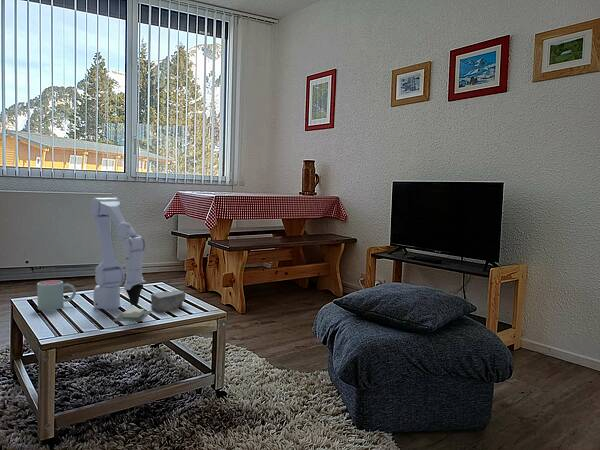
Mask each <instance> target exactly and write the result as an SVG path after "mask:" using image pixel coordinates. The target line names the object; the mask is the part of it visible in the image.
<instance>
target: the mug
mask: <svg viewBox="0 0 600 450" xmlns="http://www.w3.org/2000/svg"><path fill="white" fill-rule="evenodd" d="M66 287H69V288H70V289H71V290H72V295H71V296H69V297H68V298H64V288H66ZM36 289H37V290H36V292H37V294H36V295H37V296H36V297H37V310H39V311H46V312H47V311H48V312H49V311H55V310H59V309H60V310H61V309H62V308H64V307H65V303H68V302H71V301H72V300H73V299H75V296H76V294H77V293H76V292H77V291H76V288H75V286H74V285H72V284H70V283H64V281H63V280H53V279H52V280H50V279H49V280H43V281H42V280H41V281H40V282H39V281H38V282H37V283H36ZM64 302H65V303H64Z"/></svg>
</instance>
